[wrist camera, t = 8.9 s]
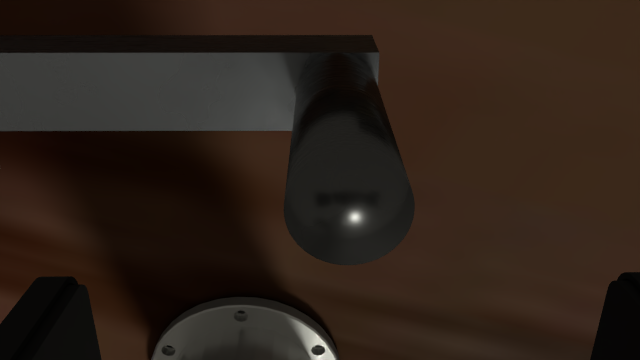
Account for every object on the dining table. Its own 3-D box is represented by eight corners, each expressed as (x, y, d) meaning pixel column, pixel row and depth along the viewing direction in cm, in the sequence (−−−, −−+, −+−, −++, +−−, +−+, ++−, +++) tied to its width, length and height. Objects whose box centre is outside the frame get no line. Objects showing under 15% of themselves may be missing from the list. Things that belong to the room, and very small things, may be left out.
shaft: (369, 105, 24) (409, 264, 14) (-131, 106, 24) (-485, 266, 14) (371, 35, 23) (419, 150, 12) (-157, 35, 23) (-571, 152, 12)
